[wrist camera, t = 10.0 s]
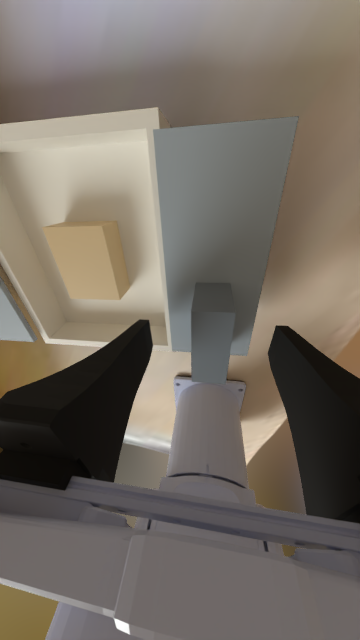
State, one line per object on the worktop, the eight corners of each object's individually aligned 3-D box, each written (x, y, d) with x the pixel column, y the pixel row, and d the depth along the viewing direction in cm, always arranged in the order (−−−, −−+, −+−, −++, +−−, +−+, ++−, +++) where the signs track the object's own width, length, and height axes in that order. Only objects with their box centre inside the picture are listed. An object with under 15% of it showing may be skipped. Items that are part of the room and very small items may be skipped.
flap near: (246, 352, 14) (255, 394, 12) (172, 347, 15) (163, 386, 12) (295, 119, 8) (350, 74, 5) (155, 132, 8) (123, 100, 5)
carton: (180, 329, 18) (175, 351, 16) (66, 324, 20) (45, 343, 18) (170, 125, 11) (157, 107, 8) (-17, 143, 12) (-75, 132, 10)
